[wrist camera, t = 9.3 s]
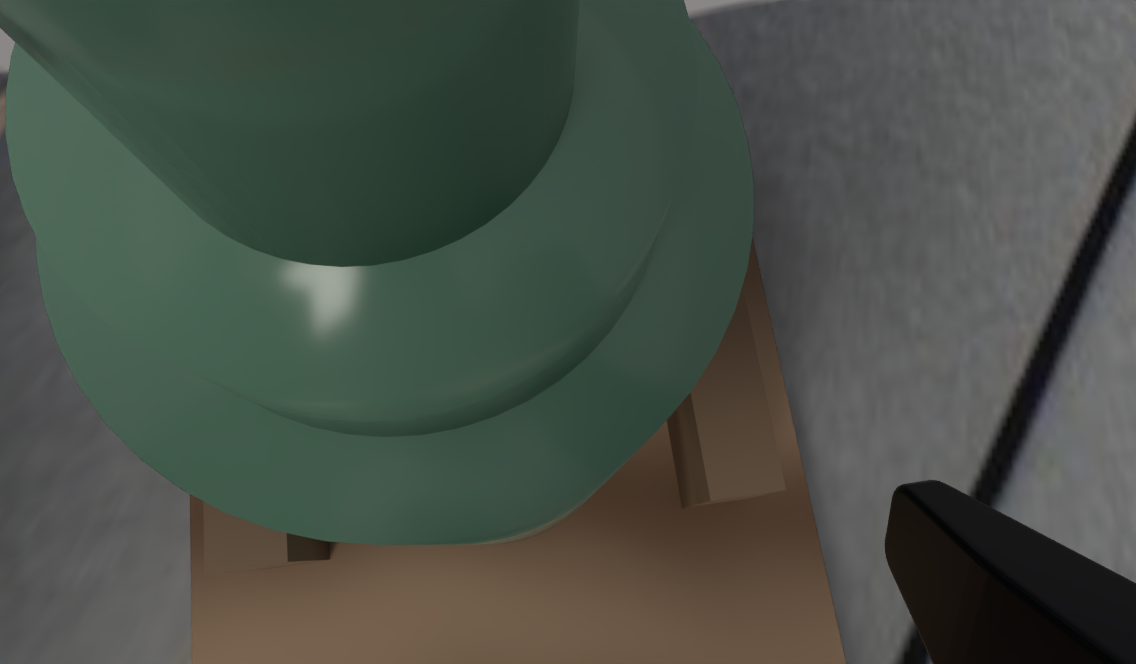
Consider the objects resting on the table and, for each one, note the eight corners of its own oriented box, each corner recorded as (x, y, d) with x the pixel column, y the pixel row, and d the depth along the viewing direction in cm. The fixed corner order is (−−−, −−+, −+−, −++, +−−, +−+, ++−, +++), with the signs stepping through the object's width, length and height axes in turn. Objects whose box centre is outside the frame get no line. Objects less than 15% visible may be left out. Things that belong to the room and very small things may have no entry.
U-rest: (877, 867, 17) (974, 957, 13) (212, 990, 16) (113, 1127, 12) (721, 144, 21) (760, 60, 18) (200, 201, 20) (125, 123, 16)
